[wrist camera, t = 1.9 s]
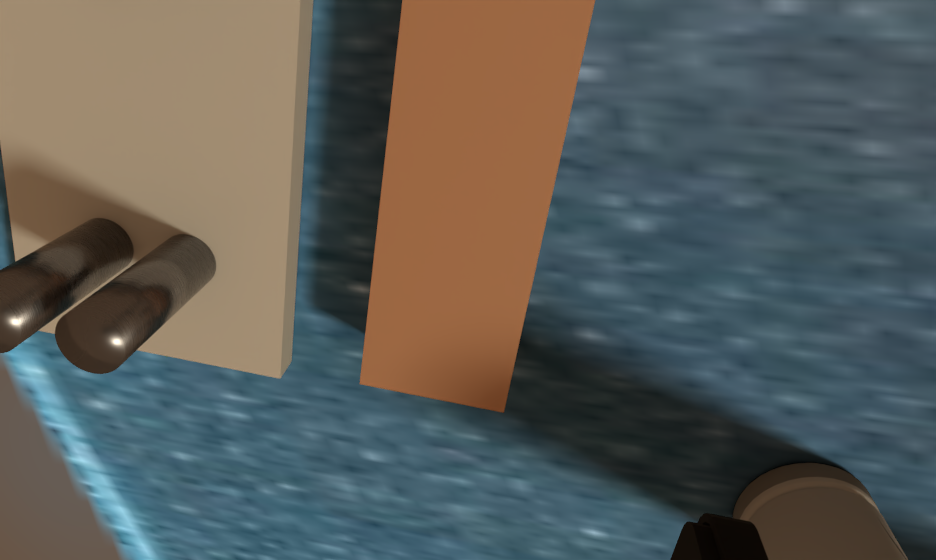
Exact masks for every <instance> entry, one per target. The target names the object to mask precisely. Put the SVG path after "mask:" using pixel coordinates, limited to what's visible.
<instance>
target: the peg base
mask: <svg viewBox="0 0 936 560" xmlns="http://www.w3.org/2000/svg"><path fill="white" fill-rule="evenodd" d="M312 14H313V0H0V145H1V153H2V161H3V169H4V176H5V184H6V192H7V200H8V207H9V215H10V223H11V231H12V238H13V246H14V254H15V262H16V261H18V260H19V259H21V258H23V257H25V256H26V255H28V254H30V253H32V252H33V251H35V250H37V249H39V248H41V247H42V246H44V245H46V244H48V243H49V242H51V241H53V240H55V239H56V238H58V237H60V236H62V235H64V234H65V233H67V232H69V231H71V230H72V229H74V228H76V227H78V226H79V225H81V224H83V223H85V222H87V221H88V220H90V219H94V218H105V219H108V220H111V221H113V222H115V223H117V224H118V225H120V226H121V227H122V228H123V229H124V230H125V231H126V232H127V234H128V235H129V237H130V239H131V241H132V244H133V249H134V254H133V258H132V260H131V262H130V264H129V265H128V266H127V267H125V268H124V269H122V270H121V271H120V272H118V273H117V274H116V275H114V276H113V277H111V278H110V279H109V280H107V281H106V282H105V283H103V284H102V285H100V286H99V287H98V288H96V289H95V290H93V291H92V292H91V293H89V294H88V295H87V296H85V297H84V298H82V299H81V300H80V301H78V302H77V303H76V304H74V305H73V306H71V307H70V308H69V309H67V310H66V311H64V312H63V313H62V314H60V315H59V316H58V317H56V318H55V319H53V320H52V321H51V322H49V323H48V324H46V325H45V326H44V327H42V328H41V329H40V330H39V331H44V332H49V333H54V334H55V328H56V325H57V322H58V321H59V319H60V318H61V317H62V316H63V315H65V314H66V313H67V312H69V311H70V310H72V309H73V308H74V307H76V306H77V305H78V304H80V303H81V302H82V301H84V300H85V299H87V298H88V297H89V296H91V295H92V294H93V293H95V292H96V291H98V290H99V289H100V288H102V287H103V286H104V285H106V284H107V283H108V282H110V281H111V280H113V279H114V278H115V277H117V276H118V275H119V274H121V273H122V272H124V271H125V270H126V269H128V268H129V267H130V266H132V265H133V264H135V263H136V262H137V261H139V260H140V259H141V258H143V257H144V256H145V255H147V254H148V253H150V252H151V251H152V250H154V249H155V248H156V247H158V246H159V245H161V244H162V243H163V242H165V241H166V240H167V239H169V238H170V237H172V236H174V235H178V234H187V235H192V236H194V237H197V238H199V239H200V240H202V241H203V242H204V243H205V244H206V245H207V246H208V247H209V248H210V249H211V251H212V252H213V254H214V257H215V260H216V271H215V274H214V276H213V278H212V279H211V280H210V281H209V282H208V283H207V284H206V285H205V286H204V287H203V288H202V289H201V290H200V291H199V292H198V293H197V294H196V295H194V296H193V297H192V298H191V299H190V300H189V301H188V302H187V303H186V304H185V305H184V306H183V307H182V308H181V309H180V310H179V311H178V312H176V313H175V314H174V315H173V316H172V317H171V318H170V319H169V320H168V321H167V322H166V323H165V324H164V325H163V326H162V327H161V328H159V329H158V330H157V331H156V332H155V333H154V334H153V335H152V336H151V337H150V338H149V339H148V340H147V341H146V342H145V343H144V344H142V345H141V346H140V347H139V348H138V349H137V350H139V351H144V352H149V353H154V354H159V355H164V356H169V357H174V358H179V359H184V360H189V361H194V362H199V363H204V364H210V365H215V366H220V367H225V368H230V369H235V370H240V371H245V372H250V373H255V374H260V375H265V376H270V377H275V378H281V377H282V375H283V374H284V372H285V371H286V369H287V367H288V366H289V364H290V363H291V361H292V344H293V328H294V311H295V295H296V278H297V262H298V245H299V229H300V212H301V196H302V179H303V163H304V146H305V130H306V113H307V97H308V80H309V63H310V47H311V30H312Z"/></svg>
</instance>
